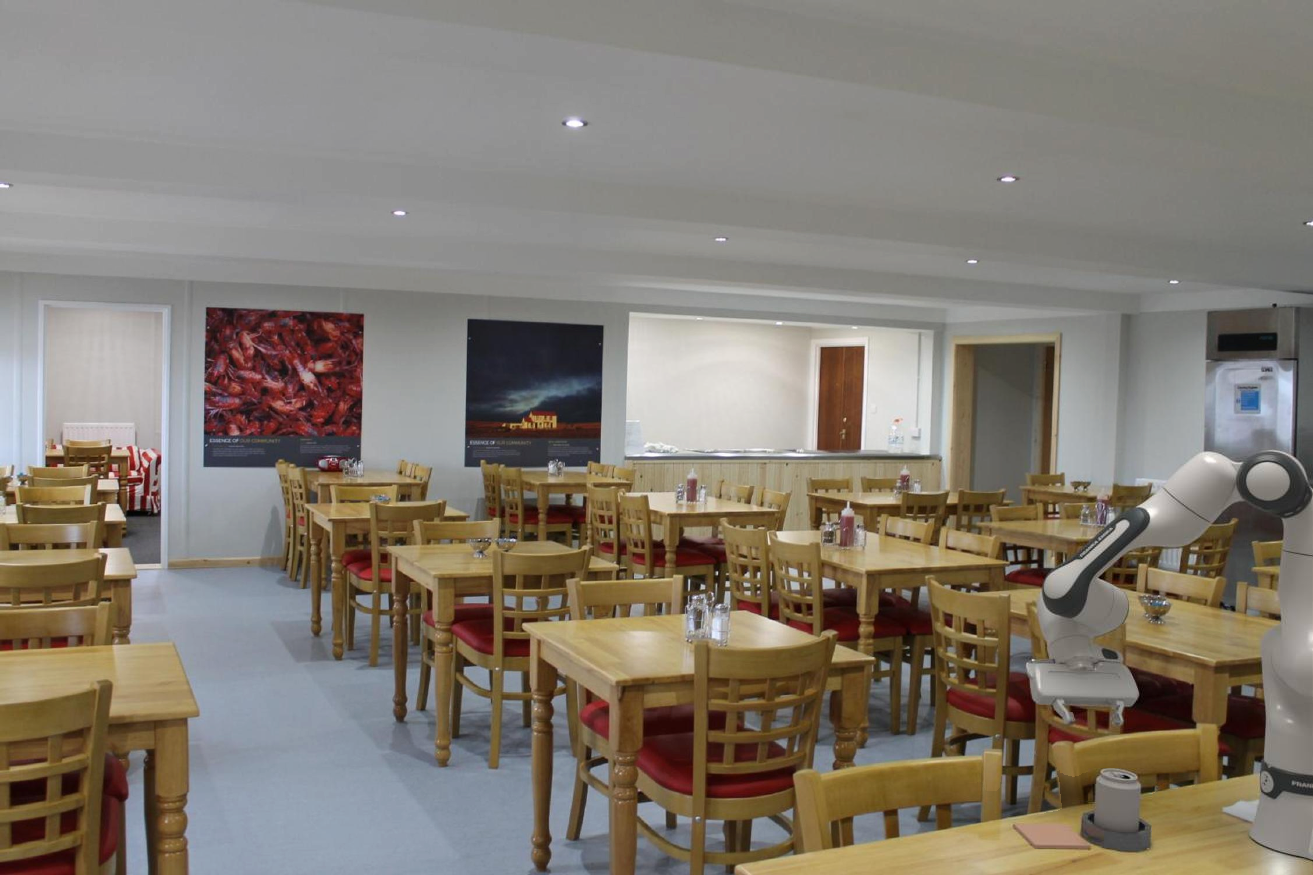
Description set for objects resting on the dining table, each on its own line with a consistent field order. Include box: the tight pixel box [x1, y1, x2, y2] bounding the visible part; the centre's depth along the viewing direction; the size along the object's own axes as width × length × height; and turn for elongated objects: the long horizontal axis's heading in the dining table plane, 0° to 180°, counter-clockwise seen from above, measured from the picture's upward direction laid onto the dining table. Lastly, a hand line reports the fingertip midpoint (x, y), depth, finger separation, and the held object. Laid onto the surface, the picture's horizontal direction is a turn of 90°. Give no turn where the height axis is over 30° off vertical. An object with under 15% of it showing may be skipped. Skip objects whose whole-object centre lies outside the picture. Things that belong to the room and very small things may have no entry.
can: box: [1094, 767, 1142, 832], centre depth 203 cm, size 8×8×12 cm
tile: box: [1012, 822, 1092, 850], centre depth 202 cm, size 10×10×1 cm
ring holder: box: [1080, 809, 1152, 852], centre depth 203 cm, size 12×12×3 cm
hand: (1094, 723), depth 213 cm, fingers open, 8 cm apart
